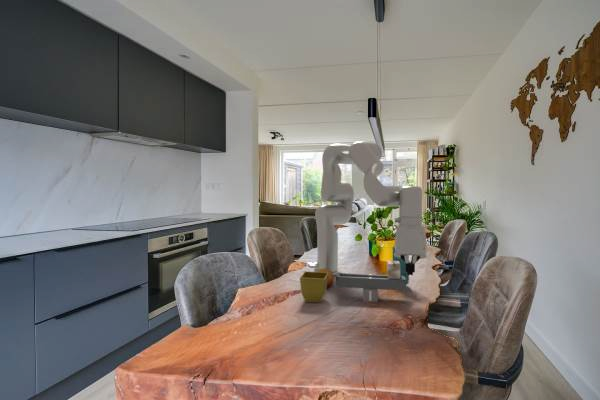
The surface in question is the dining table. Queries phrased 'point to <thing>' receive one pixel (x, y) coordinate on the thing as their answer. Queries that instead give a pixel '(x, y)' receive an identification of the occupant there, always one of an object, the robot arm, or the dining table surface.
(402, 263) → the beverage bottle
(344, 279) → the beam
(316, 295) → the flower pot
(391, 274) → the rider
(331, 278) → the fruit
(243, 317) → the dining table surface
